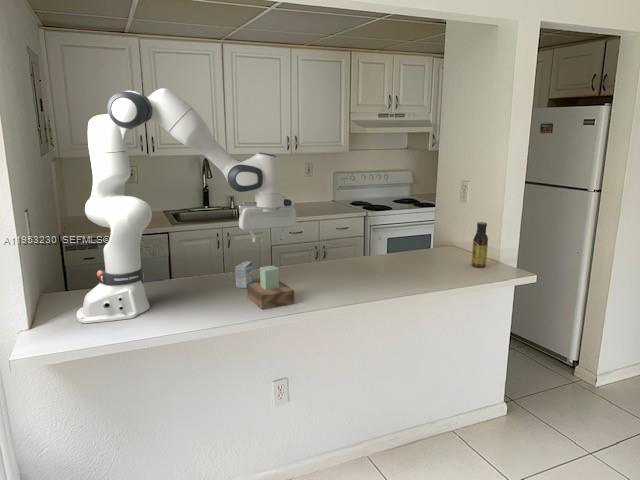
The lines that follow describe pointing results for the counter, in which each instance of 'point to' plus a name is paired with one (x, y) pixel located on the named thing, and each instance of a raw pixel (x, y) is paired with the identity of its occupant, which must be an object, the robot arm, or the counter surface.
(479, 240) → the sauce bottle
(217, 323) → the counter surface
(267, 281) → the sage block
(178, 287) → the counter surface
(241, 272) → the medicine box
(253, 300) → the walnut block
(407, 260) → the counter surface
